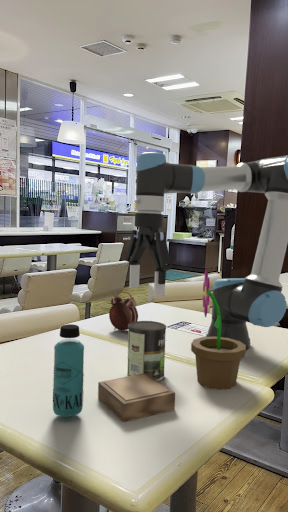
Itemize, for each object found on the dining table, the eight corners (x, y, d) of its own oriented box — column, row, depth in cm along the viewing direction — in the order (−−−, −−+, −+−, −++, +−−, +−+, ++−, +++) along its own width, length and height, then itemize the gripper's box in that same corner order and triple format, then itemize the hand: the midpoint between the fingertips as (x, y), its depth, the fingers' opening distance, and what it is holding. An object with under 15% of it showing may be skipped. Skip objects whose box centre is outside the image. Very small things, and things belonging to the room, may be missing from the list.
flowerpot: (187, 370, 120) (192, 265, 118) (238, 372, 120) (244, 267, 117) (192, 391, 106) (197, 272, 103) (249, 394, 106) (256, 274, 103)
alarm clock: (138, 332, 158) (139, 292, 157) (131, 335, 154) (132, 294, 153) (115, 327, 164) (115, 289, 163) (107, 330, 160) (108, 290, 159)
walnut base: (145, 388, 107) (145, 372, 107) (174, 409, 96) (175, 391, 96) (98, 398, 100) (98, 381, 100) (123, 422, 89) (124, 403, 89)
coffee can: (166, 370, 120) (168, 322, 118) (161, 385, 110) (163, 331, 108) (131, 367, 122) (132, 319, 120) (122, 380, 112) (123, 328, 110)
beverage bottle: (54, 410, 94) (55, 321, 92) (84, 409, 94) (86, 321, 93) (50, 424, 87) (51, 329, 86) (82, 424, 88) (84, 329, 86)
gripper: (115, 211, 121) (113, 285, 123) (161, 212, 100) (158, 301, 101) (139, 212, 125) (136, 284, 127) (188, 213, 103) (184, 299, 105)
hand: (146, 292), depth 114 cm, fingers open, 13 cm apart
